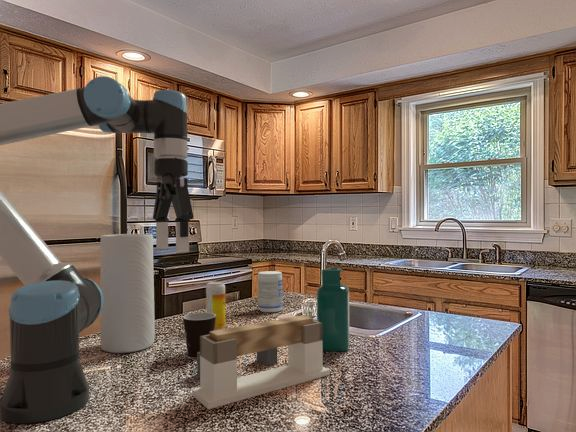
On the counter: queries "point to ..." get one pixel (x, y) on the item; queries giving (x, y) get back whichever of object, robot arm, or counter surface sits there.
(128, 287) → the paper towel roll
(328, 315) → the green square bottle
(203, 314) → the coffee mug
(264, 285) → the supplement tub
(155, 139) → the robot arm
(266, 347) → the oak rail
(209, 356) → the bracket stand
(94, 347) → the counter surface
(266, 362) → the blocks
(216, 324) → the white yellow bottle
